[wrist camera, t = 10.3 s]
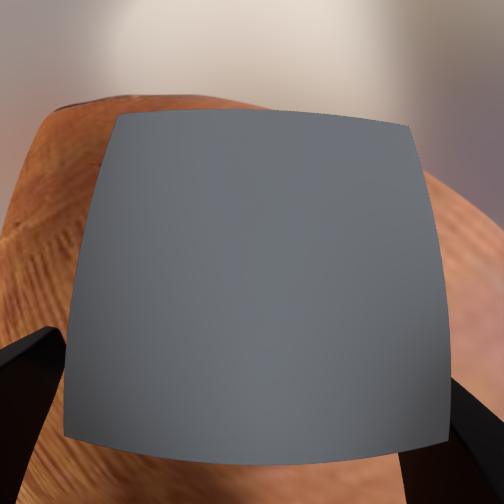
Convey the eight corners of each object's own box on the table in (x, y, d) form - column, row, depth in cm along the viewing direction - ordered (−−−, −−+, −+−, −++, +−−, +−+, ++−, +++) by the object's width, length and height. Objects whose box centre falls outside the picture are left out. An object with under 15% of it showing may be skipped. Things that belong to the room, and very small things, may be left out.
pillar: (300, 390, 15) (448, 440, 3) (199, 387, 15) (63, 436, 3) (301, 293, 17) (408, 126, 5) (204, 290, 17) (119, 114, 5)
